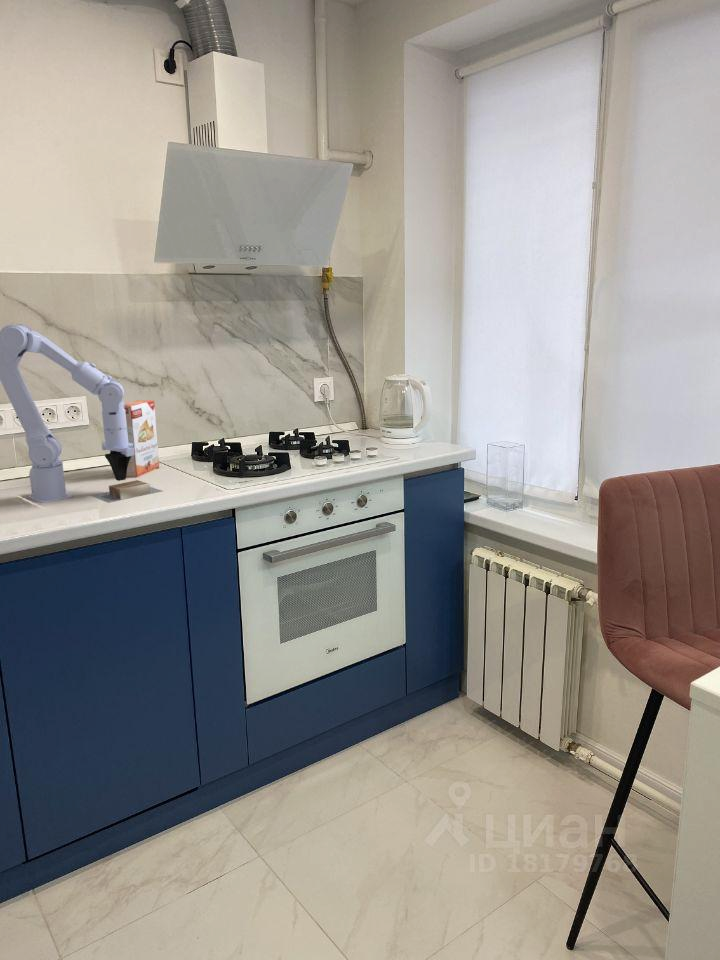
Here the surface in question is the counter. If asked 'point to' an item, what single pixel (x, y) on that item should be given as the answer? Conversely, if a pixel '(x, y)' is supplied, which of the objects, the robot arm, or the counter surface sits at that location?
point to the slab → (129, 489)
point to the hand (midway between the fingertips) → (120, 479)
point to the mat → (109, 498)
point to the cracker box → (142, 437)
